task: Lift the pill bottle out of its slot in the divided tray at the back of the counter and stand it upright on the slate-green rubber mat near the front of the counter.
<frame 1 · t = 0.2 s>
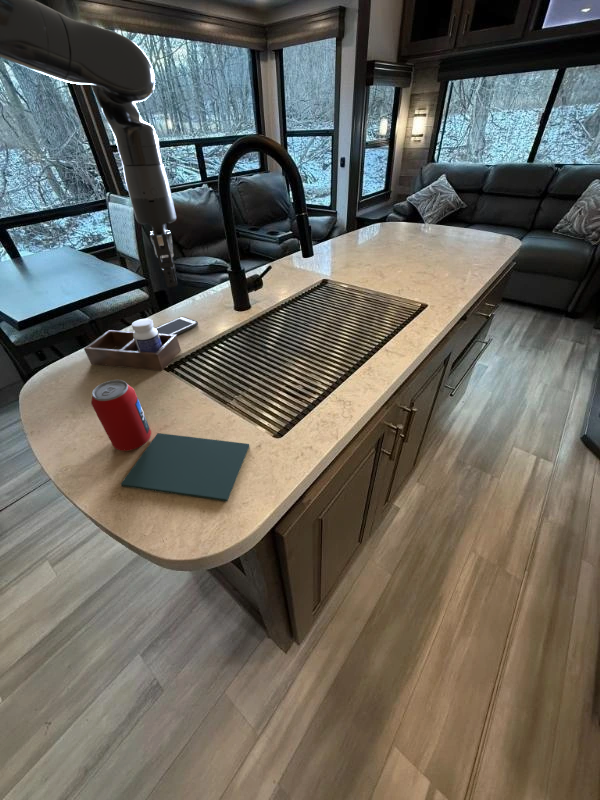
hand: (171, 280, 73), 20 cm above the worktop, tool pointing down, fingers open, 8 cm apart
cell phone: (171, 331, 97), on the worktop
mat: (189, 465, 57), on the worktop
divided tray: (137, 356, 86), on the worktop
beverage can: (133, 441, 62), on the worktop
pill bottle: (154, 359, 85), resting in divided tray
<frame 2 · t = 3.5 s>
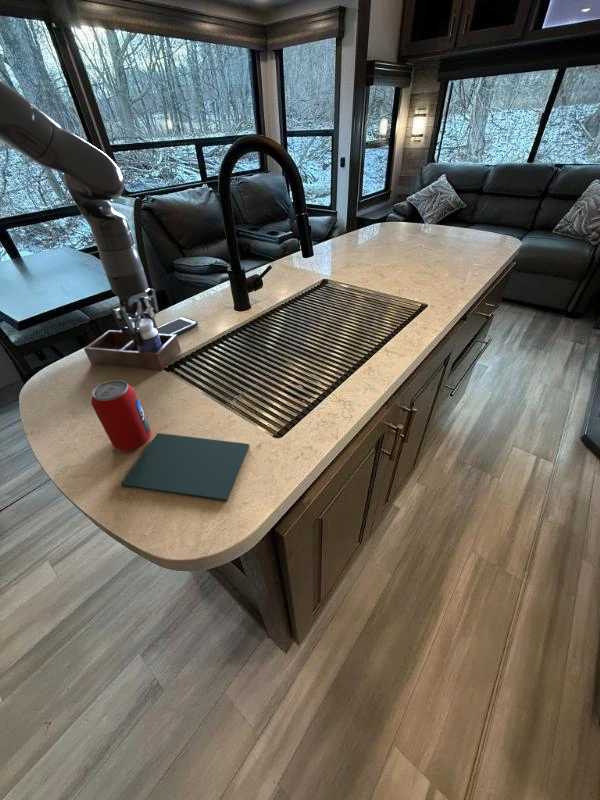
hand: (147, 339, 82), 6 cm above the worktop, tool pointing down, fingers closed on pill bottle, 5 cm apart
pill bottle: (154, 359, 85), resting in divided tray, touching gripper
everything else where it was.
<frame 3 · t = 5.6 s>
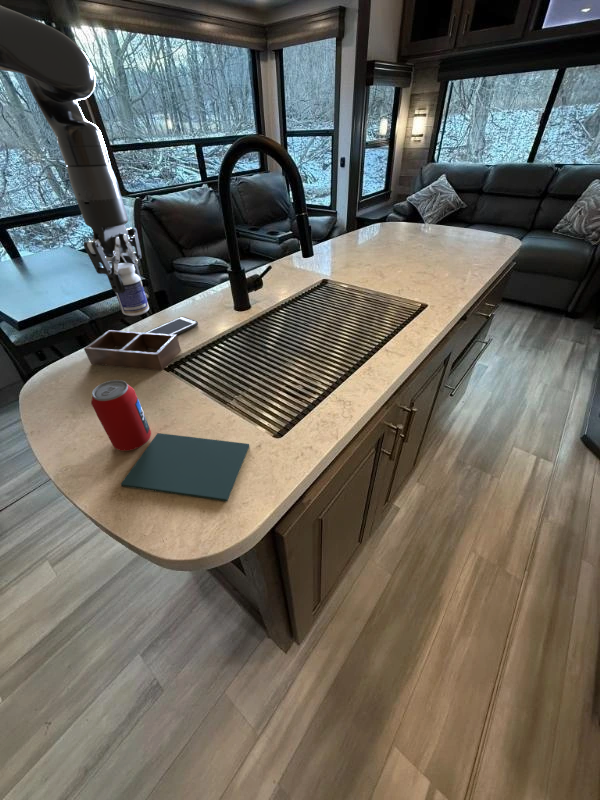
hand: (128, 286, 71), 19 cm above the worktop, tool pointing down, fingers closed on pill bottle, 5 cm apart
pill bottle: (136, 312, 75), point 14 cm above the worktop, touching gripper
everything else where it was.
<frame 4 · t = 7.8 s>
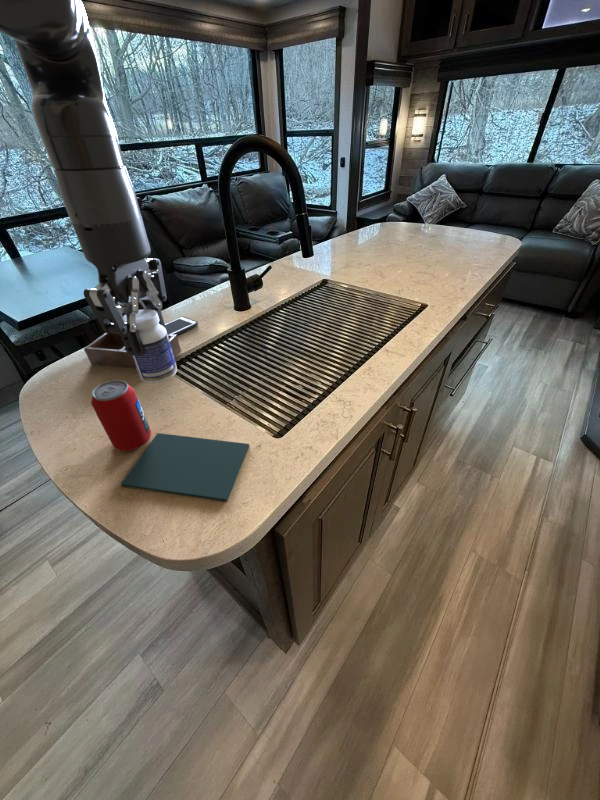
hand: (148, 343, 49), 20 cm above the worktop, tool pointing down, fingers closed on pill bottle, 5 cm apart
pill bottle: (159, 375, 53), point 15 cm above the worktop, touching gripper
everything else where it was.
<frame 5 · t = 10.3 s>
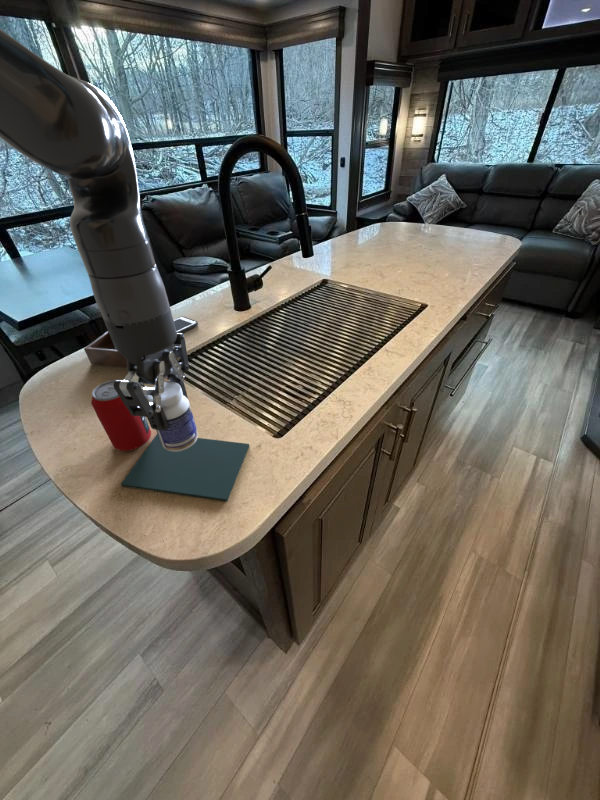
hand: (171, 414, 50), 12 cm above the worktop, tool pointing down, fingers closed on pill bottle, 5 cm apart
pill bottle: (180, 440, 53), point 6 cm above the worktop, touching gripper
everything else where it was.
when the fingers open (6 cm above the worktop, at t = 12.2 s): pill bottle stays where it is, resting on mat.
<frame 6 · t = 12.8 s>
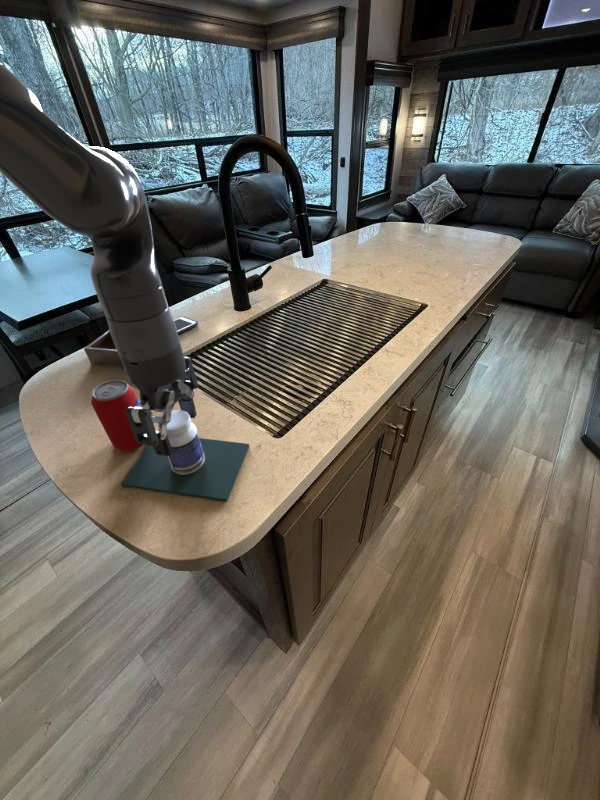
hand: (178, 434, 52), 7 cm above the worktop, tool pointing down, fingers open, 8 cm apart
pill bottle: (188, 463, 57), resting on mat
everything else where it was.
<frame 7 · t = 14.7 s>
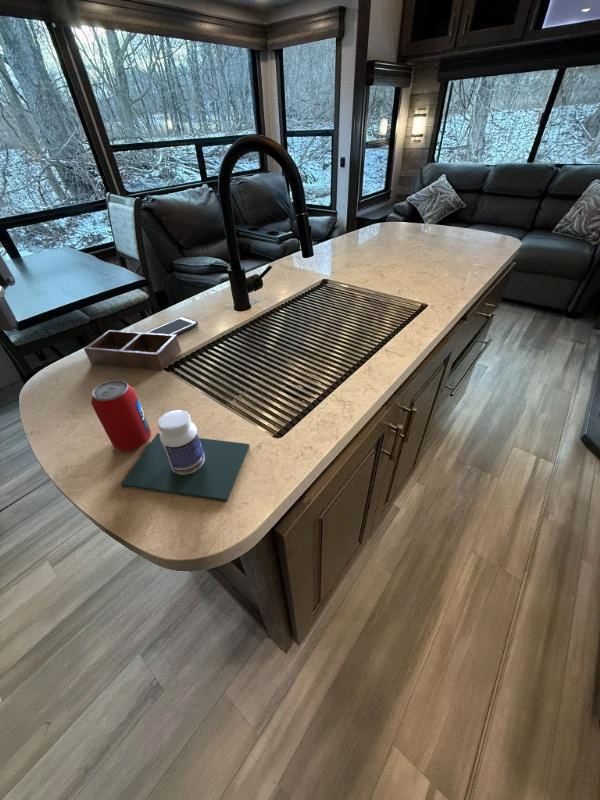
nothing on the worktop moved.
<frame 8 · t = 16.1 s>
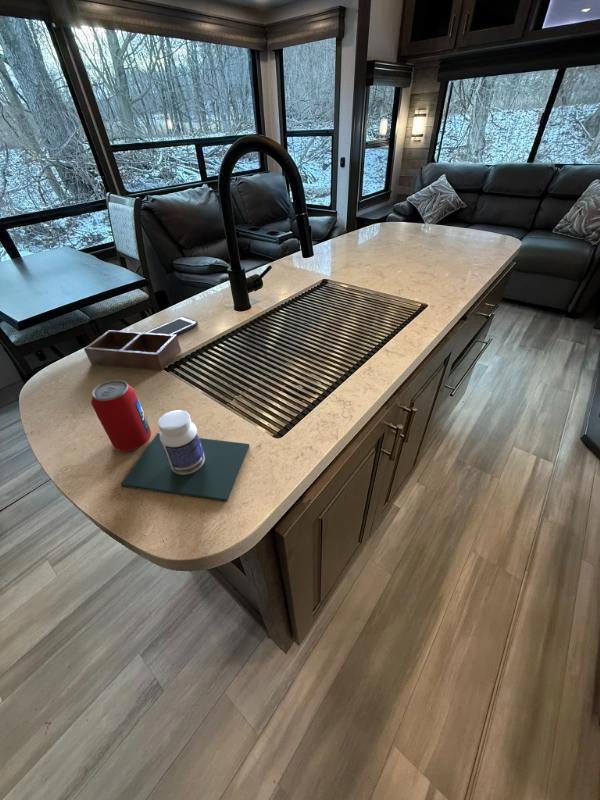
nothing on the worktop moved.
at the end: pill bottle inside the target area on the mat (0.0 cm from its centre), point 0.4 cm above the mat's base; pill bottle tilted 0° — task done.
